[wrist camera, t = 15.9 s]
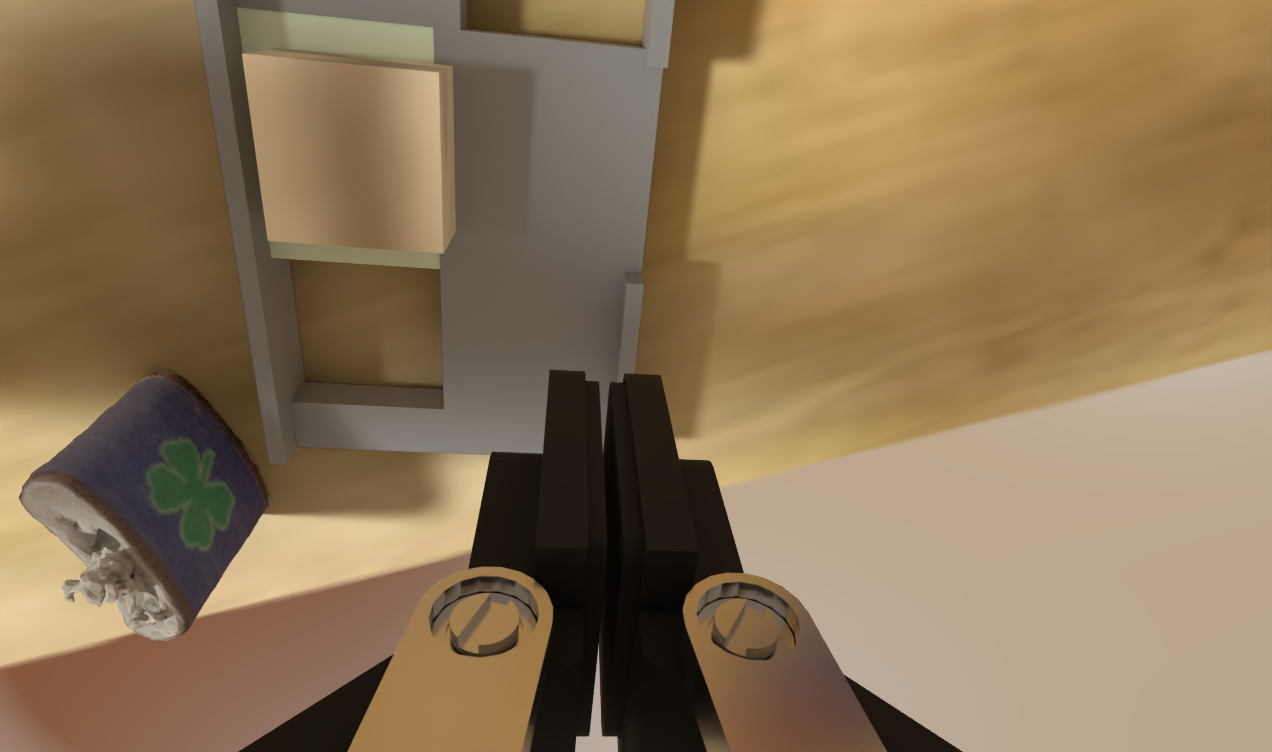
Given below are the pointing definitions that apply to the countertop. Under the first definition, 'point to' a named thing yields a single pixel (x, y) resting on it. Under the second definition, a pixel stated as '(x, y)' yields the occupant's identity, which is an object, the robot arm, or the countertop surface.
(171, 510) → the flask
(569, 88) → the board
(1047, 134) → the countertop surface
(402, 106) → the beech block
